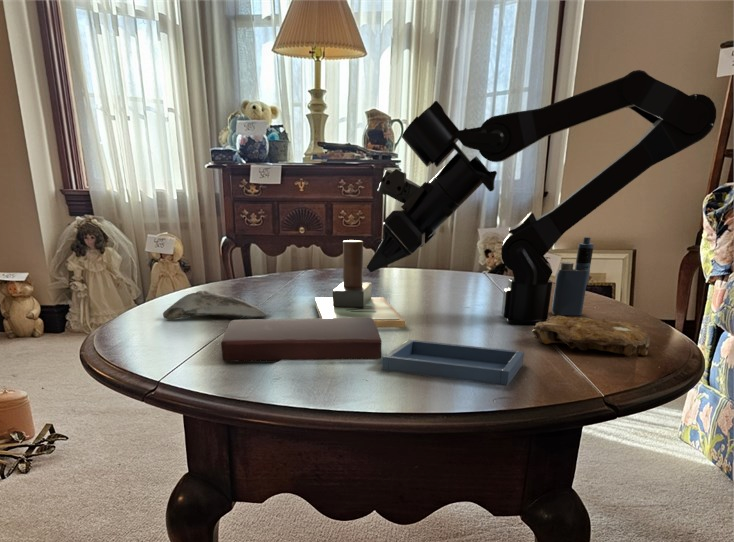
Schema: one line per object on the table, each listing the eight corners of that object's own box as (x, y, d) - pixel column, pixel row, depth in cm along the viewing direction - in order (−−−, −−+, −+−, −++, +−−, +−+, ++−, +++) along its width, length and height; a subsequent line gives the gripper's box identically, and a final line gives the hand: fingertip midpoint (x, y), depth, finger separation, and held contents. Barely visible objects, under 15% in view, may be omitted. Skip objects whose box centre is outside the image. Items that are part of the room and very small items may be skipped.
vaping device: (584, 316, 108) (597, 238, 103) (553, 315, 108) (564, 238, 103) (580, 313, 111) (592, 237, 105) (549, 312, 111) (560, 236, 105)
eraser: (342, 296, 114) (342, 238, 110) (371, 297, 113) (372, 238, 109) (332, 306, 105) (332, 243, 101) (363, 307, 104) (364, 244, 100)
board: (315, 306, 113) (315, 297, 113) (383, 305, 115) (383, 296, 114) (324, 331, 96) (324, 320, 95) (405, 330, 97) (405, 319, 97)
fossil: (256, 302, 98) (161, 288, 99) (253, 333, 100) (160, 319, 101) (275, 299, 109) (189, 286, 110) (273, 327, 110) (188, 314, 111)
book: (381, 363, 80) (382, 336, 79) (222, 364, 79) (220, 337, 77) (371, 340, 91) (372, 316, 90) (232, 340, 90) (230, 316, 89)
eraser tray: (381, 373, 76) (382, 356, 75) (408, 355, 84) (408, 339, 83) (506, 389, 71) (508, 371, 70) (522, 367, 79) (524, 351, 78)
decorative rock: (531, 358, 85) (651, 369, 82) (536, 327, 83) (660, 337, 80) (527, 334, 94) (635, 343, 92) (532, 305, 92) (643, 314, 90)
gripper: (419, 150, 105) (353, 223, 112) (401, 146, 89) (324, 232, 96) (465, 204, 107) (396, 273, 114) (455, 210, 91) (376, 289, 98)
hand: (374, 266), depth 106 cm, fingers open, 9 cm apart
